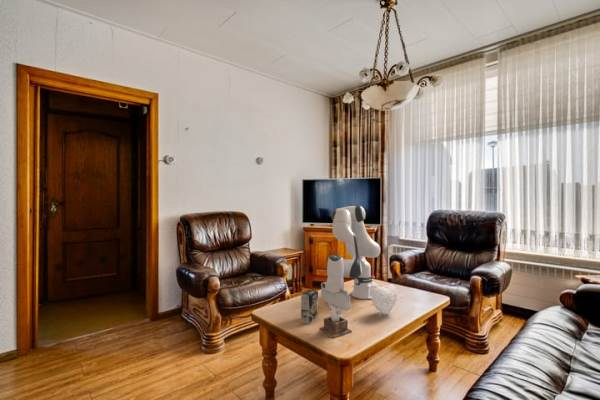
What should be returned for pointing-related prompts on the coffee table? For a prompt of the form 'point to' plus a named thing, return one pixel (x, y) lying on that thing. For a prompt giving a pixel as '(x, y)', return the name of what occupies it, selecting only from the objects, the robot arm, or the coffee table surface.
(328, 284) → the robot arm
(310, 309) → the coffee box
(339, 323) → the walnut roll holder
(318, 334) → the coffee table surface
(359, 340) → the coffee table surface
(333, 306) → the paper roll
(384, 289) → the decorative heart
